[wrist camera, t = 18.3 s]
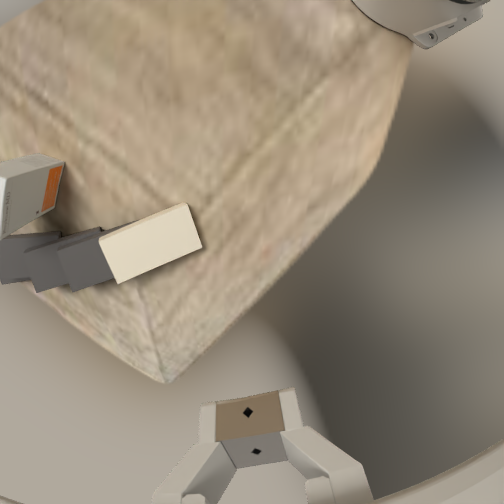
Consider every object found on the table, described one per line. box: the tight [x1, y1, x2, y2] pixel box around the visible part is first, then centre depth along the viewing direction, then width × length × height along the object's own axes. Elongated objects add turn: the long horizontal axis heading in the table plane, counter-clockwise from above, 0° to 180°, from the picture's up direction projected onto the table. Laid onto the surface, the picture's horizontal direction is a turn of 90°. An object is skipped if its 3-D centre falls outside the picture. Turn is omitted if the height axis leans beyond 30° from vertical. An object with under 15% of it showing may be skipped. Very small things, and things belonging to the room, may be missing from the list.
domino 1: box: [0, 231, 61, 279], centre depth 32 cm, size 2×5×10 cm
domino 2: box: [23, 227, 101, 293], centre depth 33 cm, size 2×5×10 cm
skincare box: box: [0, 153, 65, 240], centre depth 26 cm, size 6×4×12 cm
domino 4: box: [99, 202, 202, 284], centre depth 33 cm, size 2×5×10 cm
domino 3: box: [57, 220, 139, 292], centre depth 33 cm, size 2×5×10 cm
